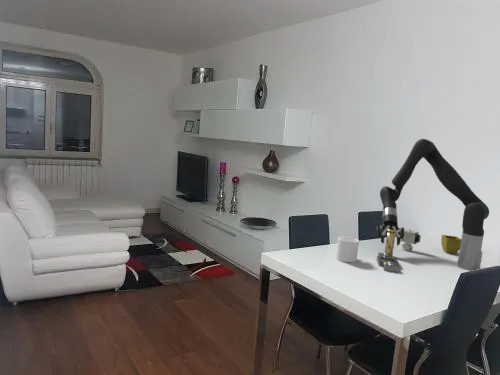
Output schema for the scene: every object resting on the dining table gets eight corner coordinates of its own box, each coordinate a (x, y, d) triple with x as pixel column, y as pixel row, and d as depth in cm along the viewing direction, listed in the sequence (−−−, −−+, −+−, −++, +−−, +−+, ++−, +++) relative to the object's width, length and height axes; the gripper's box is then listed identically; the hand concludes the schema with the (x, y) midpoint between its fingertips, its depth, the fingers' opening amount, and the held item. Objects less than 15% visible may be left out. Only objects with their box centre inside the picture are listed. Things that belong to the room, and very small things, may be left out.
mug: (348, 264, 184) (351, 242, 183) (331, 258, 191) (333, 237, 190) (363, 260, 192) (365, 240, 191) (346, 254, 200) (348, 235, 198)
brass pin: (392, 255, 207) (395, 229, 206) (393, 257, 202) (397, 231, 201) (383, 253, 208) (386, 228, 206) (384, 256, 203) (387, 230, 202)
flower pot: (454, 251, 229) (456, 236, 228) (461, 255, 220) (463, 240, 219) (439, 249, 229) (441, 234, 228) (444, 253, 221) (447, 238, 220)
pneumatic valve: (416, 253, 216) (419, 232, 214) (395, 248, 223) (398, 227, 221) (419, 251, 220) (422, 230, 219) (397, 246, 227) (400, 226, 226)
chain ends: (393, 259, 200) (393, 253, 199) (401, 273, 177) (402, 266, 177) (374, 256, 201) (375, 250, 201) (380, 270, 179) (381, 263, 178)
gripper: (377, 212, 211) (377, 238, 201) (405, 215, 209) (406, 241, 199) (375, 219, 217) (375, 245, 207) (402, 223, 215) (403, 249, 204)
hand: (390, 243), depth 203 cm, fingers open, 7 cm apart
